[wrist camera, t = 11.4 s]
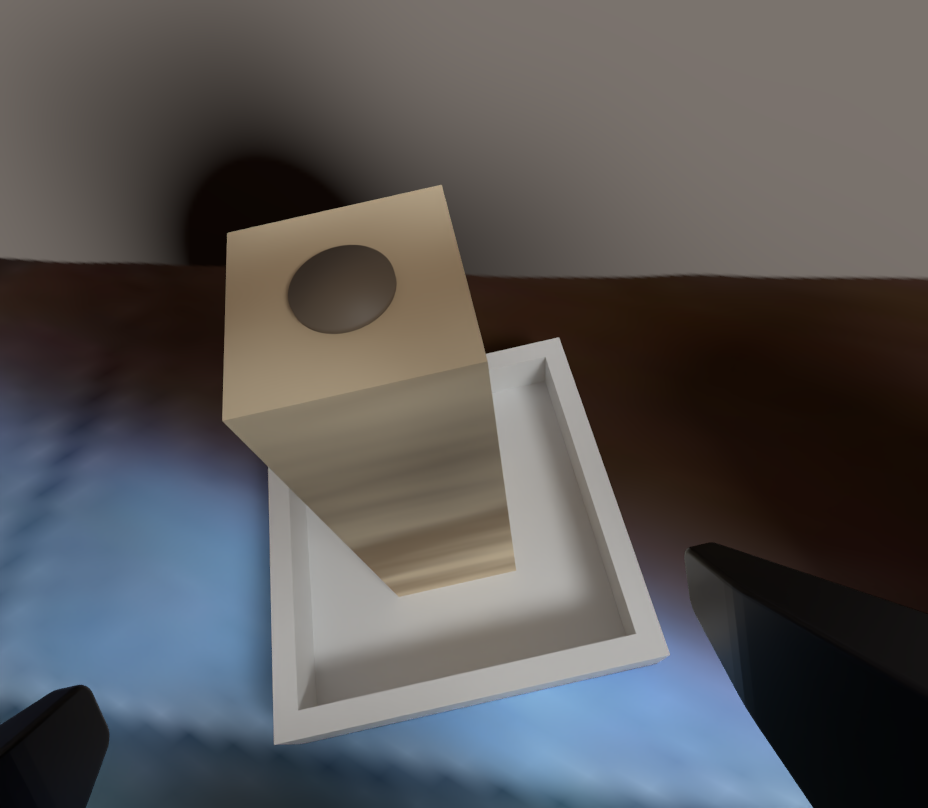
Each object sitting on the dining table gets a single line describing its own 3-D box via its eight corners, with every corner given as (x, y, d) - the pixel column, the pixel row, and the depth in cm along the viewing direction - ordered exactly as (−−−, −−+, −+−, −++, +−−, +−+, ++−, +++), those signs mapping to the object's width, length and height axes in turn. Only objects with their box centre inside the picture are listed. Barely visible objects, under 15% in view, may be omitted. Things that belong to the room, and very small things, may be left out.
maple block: (516, 570, 22) (486, 356, 9) (398, 596, 22) (217, 416, 9) (490, 463, 24) (440, 178, 12) (384, 487, 24) (223, 227, 12)
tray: (656, 663, 20) (670, 654, 18) (302, 744, 20) (273, 744, 18) (557, 369, 27) (559, 337, 24) (288, 430, 27) (266, 403, 24)
